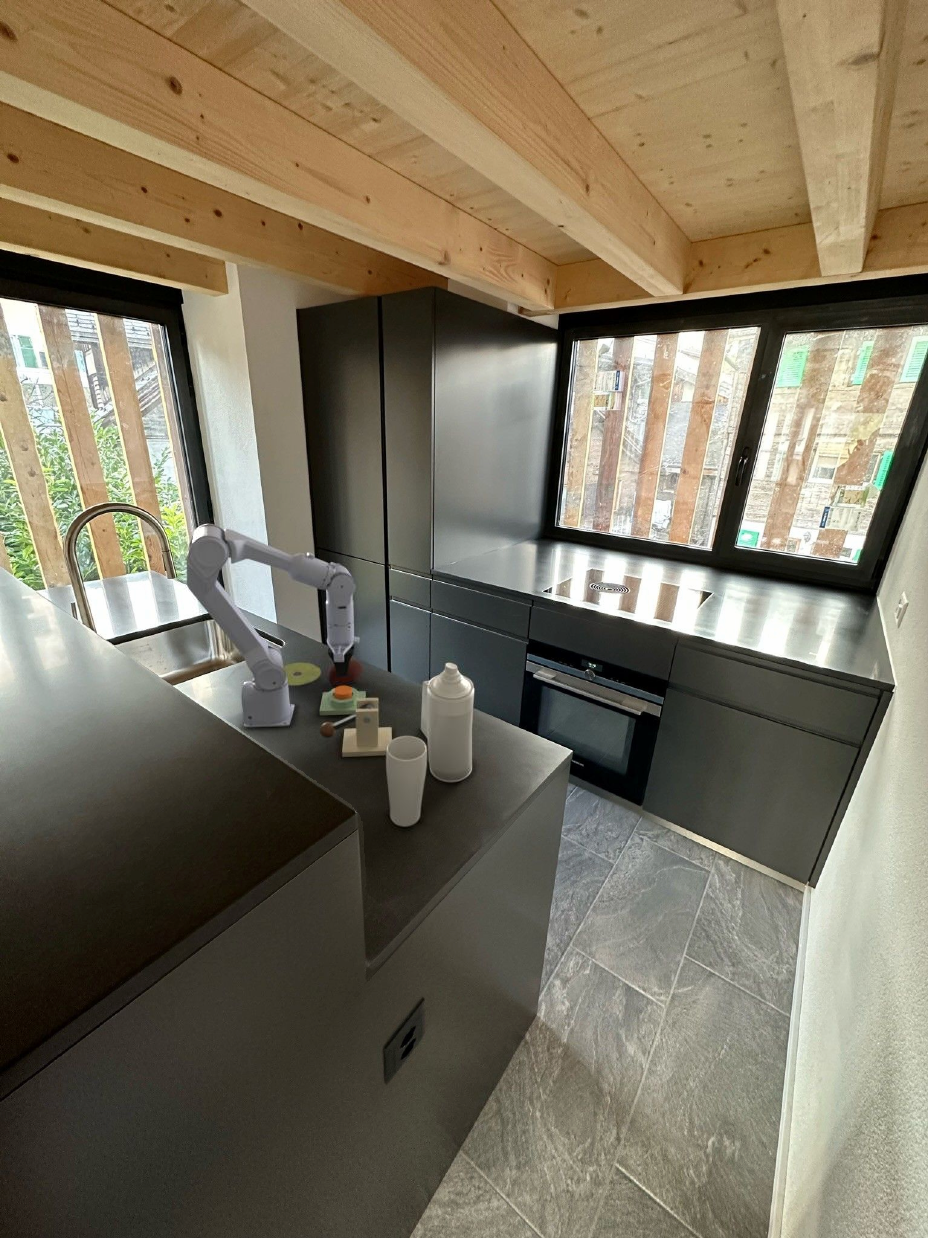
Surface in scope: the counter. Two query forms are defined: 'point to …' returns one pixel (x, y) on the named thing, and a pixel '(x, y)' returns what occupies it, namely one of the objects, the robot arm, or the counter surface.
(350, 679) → the potato
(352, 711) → the control block
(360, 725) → the bracket
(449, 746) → the spray can
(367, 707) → the lever
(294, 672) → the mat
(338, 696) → the button
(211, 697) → the counter surface
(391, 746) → the drinking glass
